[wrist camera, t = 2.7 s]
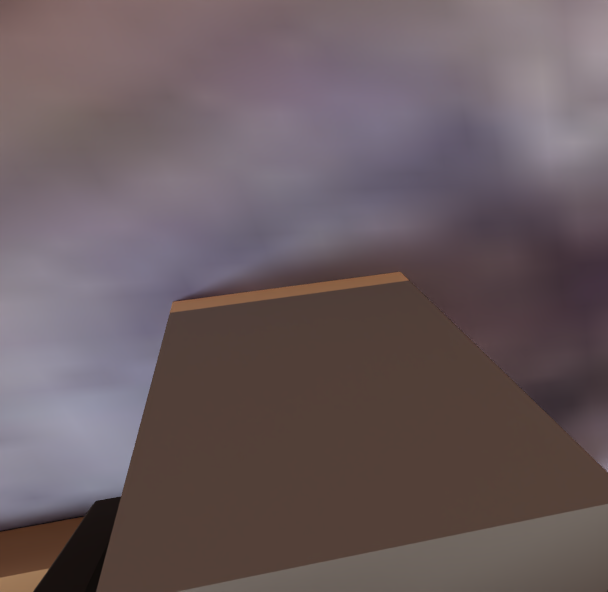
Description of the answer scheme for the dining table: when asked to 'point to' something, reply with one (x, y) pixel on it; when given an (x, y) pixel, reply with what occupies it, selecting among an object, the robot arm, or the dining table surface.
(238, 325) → the block
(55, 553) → the oak board
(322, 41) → the dining table surface
